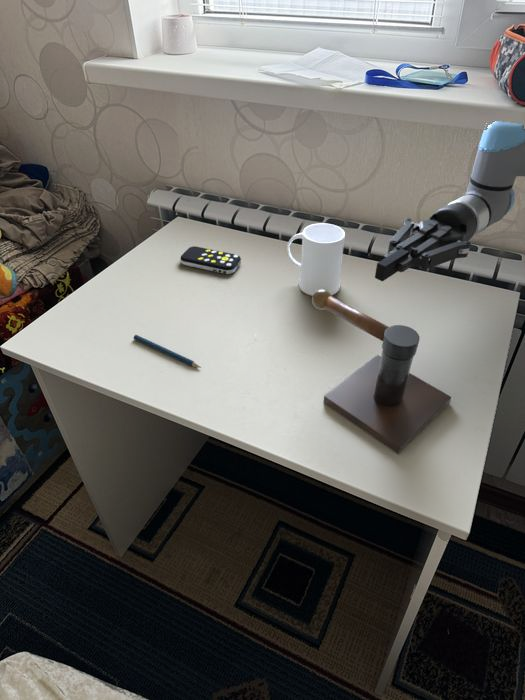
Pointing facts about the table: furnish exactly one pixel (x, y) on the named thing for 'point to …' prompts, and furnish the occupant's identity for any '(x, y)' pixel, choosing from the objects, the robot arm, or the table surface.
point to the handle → (372, 326)
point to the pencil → (166, 351)
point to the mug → (320, 257)
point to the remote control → (211, 260)
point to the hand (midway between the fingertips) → (379, 272)
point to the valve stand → (387, 401)
